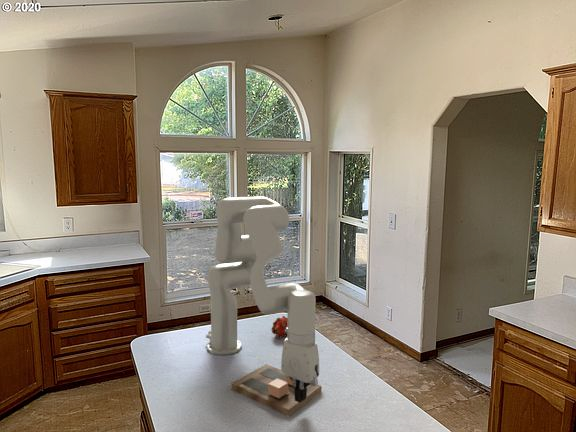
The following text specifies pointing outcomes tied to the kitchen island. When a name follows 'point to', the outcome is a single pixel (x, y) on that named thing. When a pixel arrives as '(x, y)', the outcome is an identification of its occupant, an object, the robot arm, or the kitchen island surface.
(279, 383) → the tab
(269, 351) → the kitchen island surface
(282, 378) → the switch board
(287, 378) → the tab
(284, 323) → the dragon fruit
